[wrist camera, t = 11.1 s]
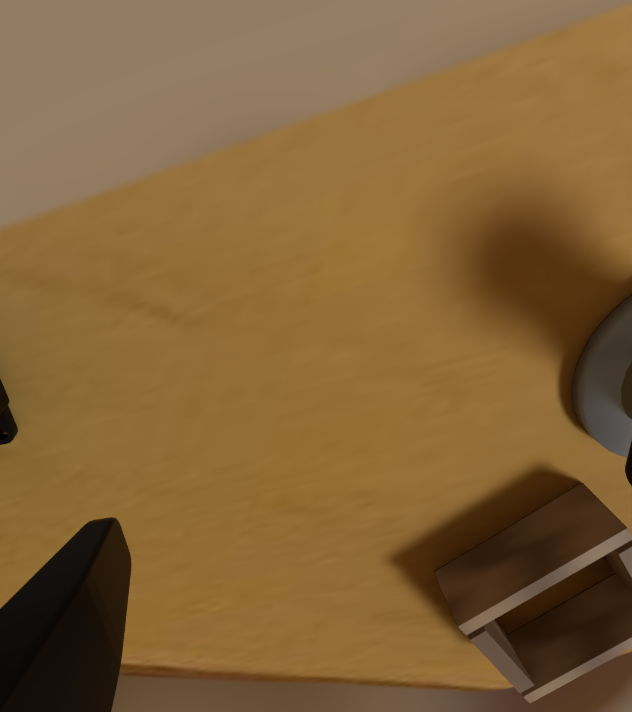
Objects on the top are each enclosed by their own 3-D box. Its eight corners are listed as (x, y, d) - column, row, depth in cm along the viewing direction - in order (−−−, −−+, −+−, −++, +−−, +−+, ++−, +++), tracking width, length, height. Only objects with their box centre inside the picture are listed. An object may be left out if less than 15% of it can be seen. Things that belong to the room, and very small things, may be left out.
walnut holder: (501, 648, 33) (529, 703, 29) (433, 572, 28) (457, 626, 25) (633, 574, 31) (677, 622, 28) (582, 482, 27) (627, 528, 24)
